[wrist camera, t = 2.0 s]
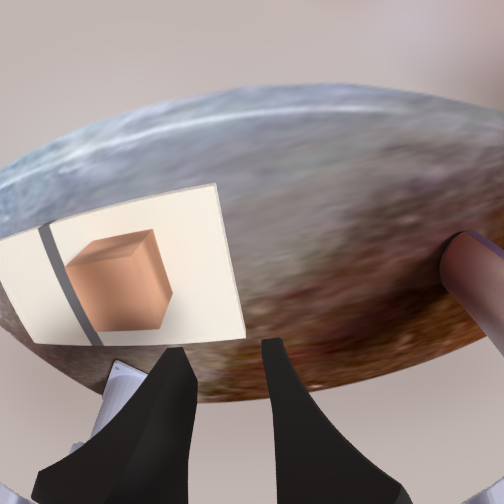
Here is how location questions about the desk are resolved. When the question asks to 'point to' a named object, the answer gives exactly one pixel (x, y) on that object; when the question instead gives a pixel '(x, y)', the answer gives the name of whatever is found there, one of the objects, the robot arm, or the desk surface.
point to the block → (121, 282)
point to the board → (173, 256)
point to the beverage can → (477, 281)
